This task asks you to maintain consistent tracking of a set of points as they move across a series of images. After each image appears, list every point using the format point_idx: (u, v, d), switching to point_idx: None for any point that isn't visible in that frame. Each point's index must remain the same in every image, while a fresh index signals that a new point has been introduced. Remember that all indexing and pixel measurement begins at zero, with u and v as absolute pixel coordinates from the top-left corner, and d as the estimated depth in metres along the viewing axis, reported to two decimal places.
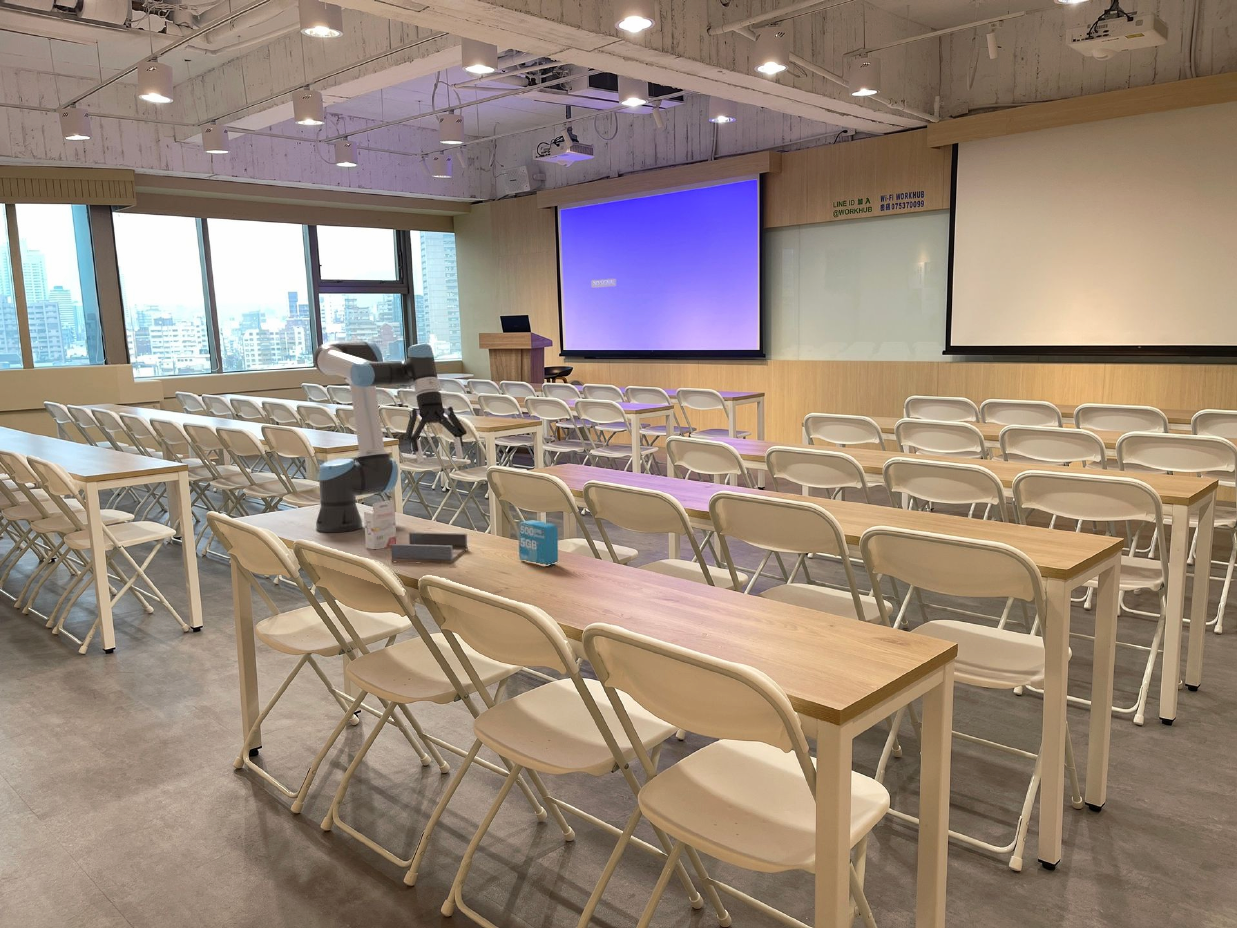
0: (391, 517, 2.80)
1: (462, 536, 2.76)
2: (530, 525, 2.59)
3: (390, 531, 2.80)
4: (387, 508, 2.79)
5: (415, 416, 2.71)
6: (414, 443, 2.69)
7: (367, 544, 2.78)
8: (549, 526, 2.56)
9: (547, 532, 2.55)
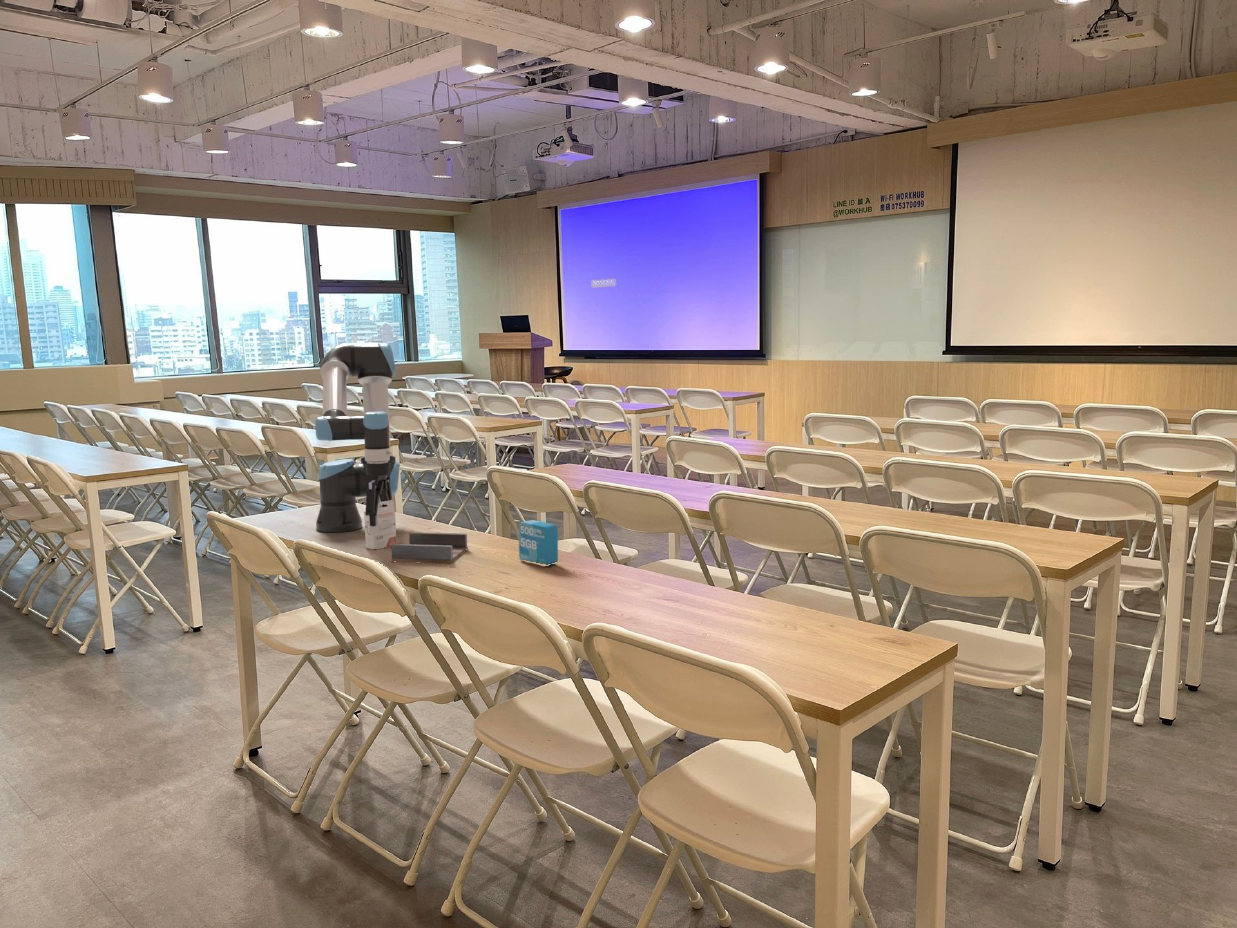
0: (391, 517, 2.80)
1: (462, 536, 2.76)
2: (530, 525, 2.59)
3: (390, 531, 2.80)
4: (387, 508, 2.79)
5: (375, 490, 2.72)
6: (374, 518, 2.73)
7: (367, 544, 2.78)
8: (549, 526, 2.56)
9: (547, 532, 2.55)
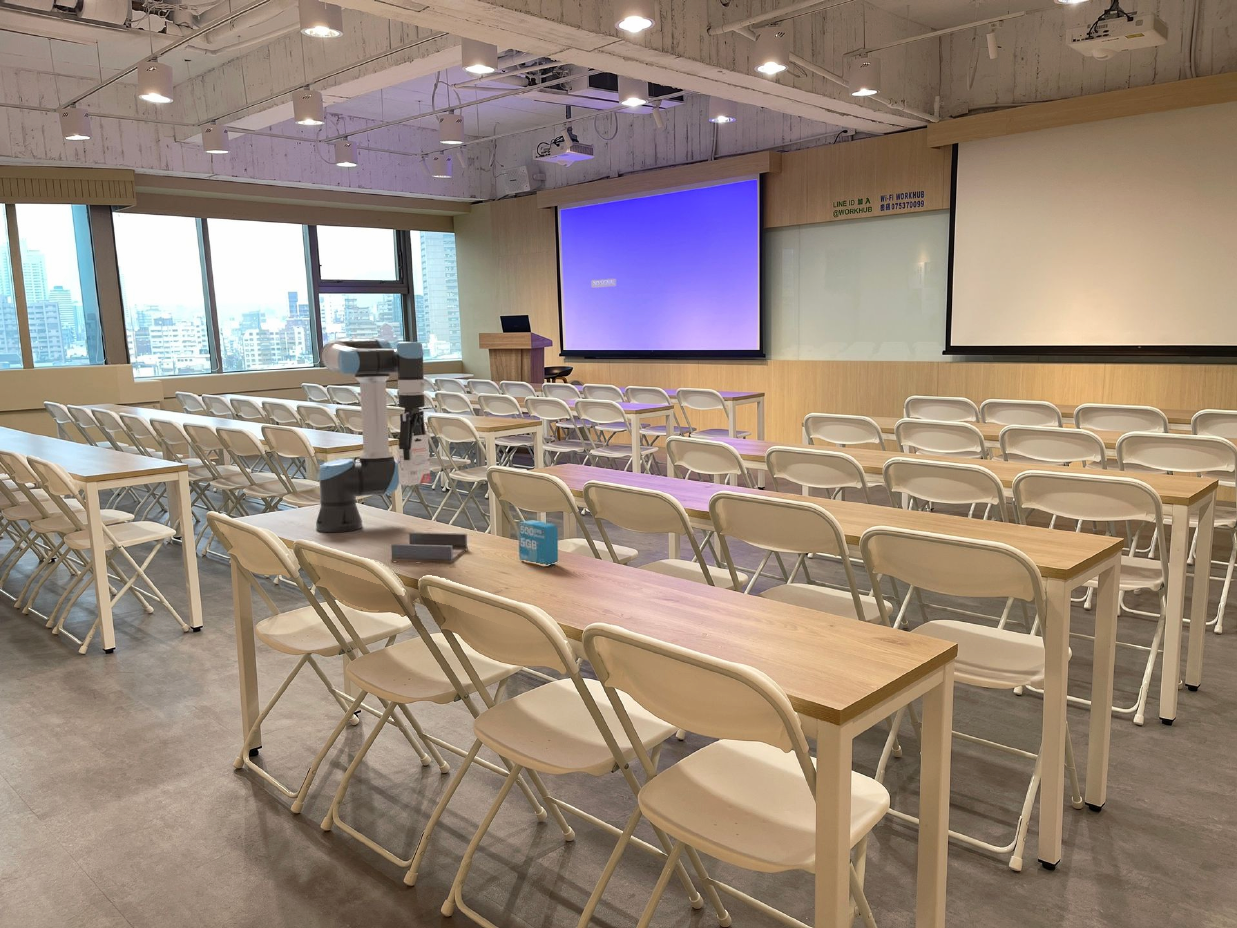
0: (425, 453, 2.69)
1: (462, 536, 2.76)
2: (530, 525, 2.59)
3: (424, 467, 2.69)
4: (421, 443, 2.67)
5: (409, 422, 2.61)
6: (408, 451, 2.62)
7: (400, 480, 2.67)
8: (549, 526, 2.56)
9: (547, 532, 2.55)
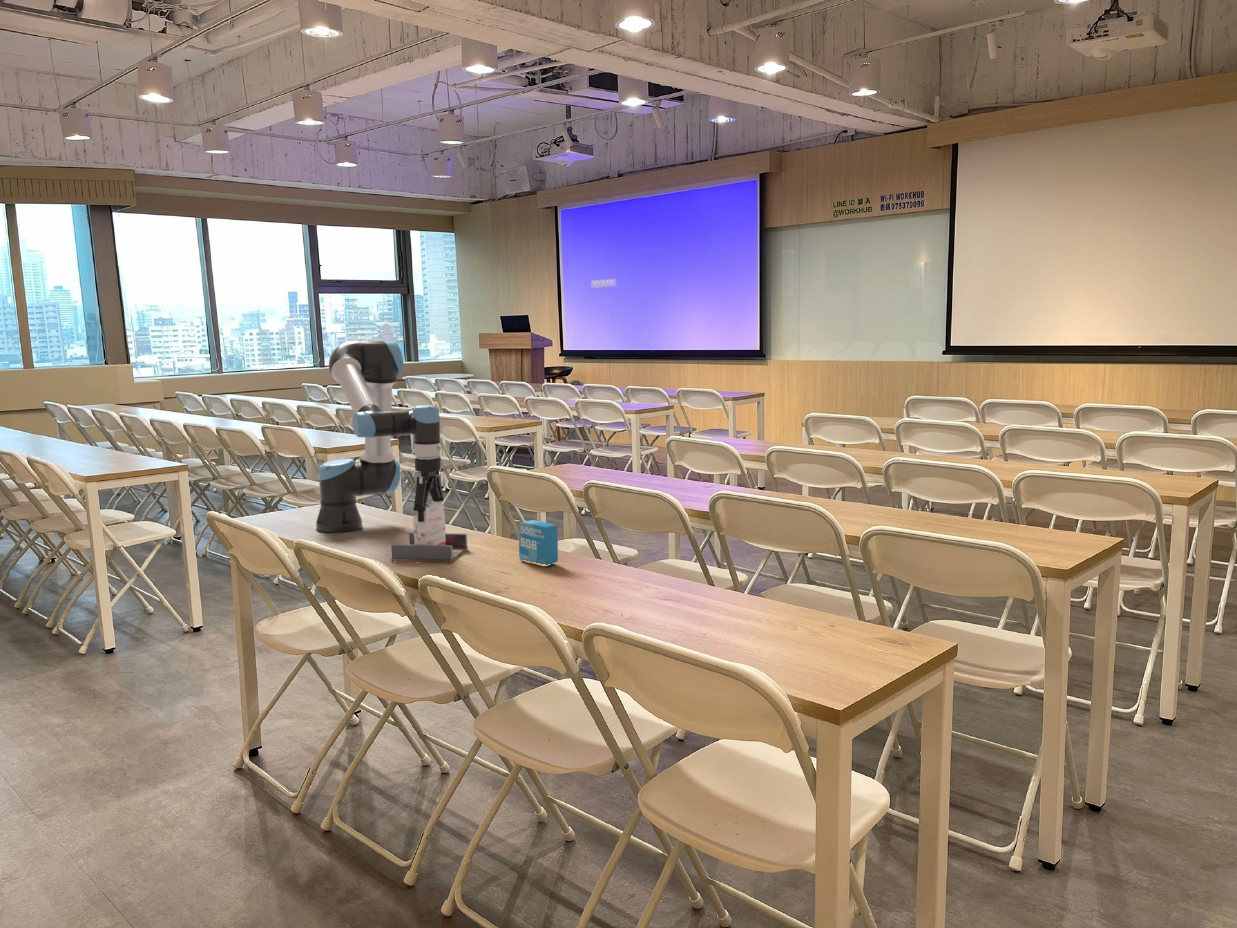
0: (441, 522, 2.69)
1: (462, 536, 2.76)
2: (530, 525, 2.59)
3: (439, 536, 2.69)
4: (437, 512, 2.68)
5: (425, 485, 2.60)
6: (422, 513, 2.60)
7: None
8: (549, 526, 2.56)
9: (547, 532, 2.55)
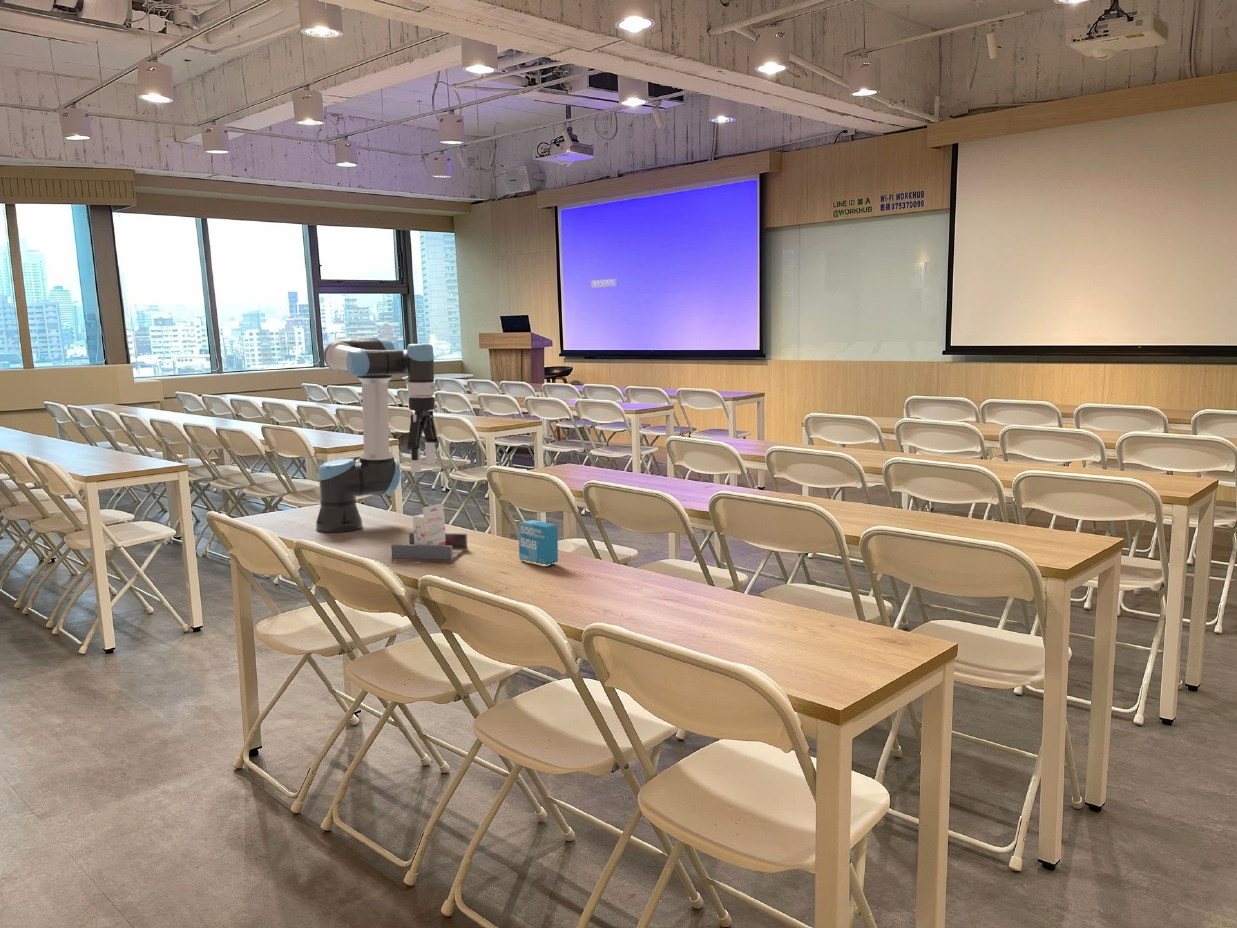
0: (441, 522, 2.69)
1: (462, 536, 2.76)
2: (530, 525, 2.59)
3: (439, 536, 2.69)
4: (437, 512, 2.68)
5: (419, 423, 2.59)
6: (416, 451, 2.59)
7: None
8: (549, 526, 2.56)
9: (547, 532, 2.55)
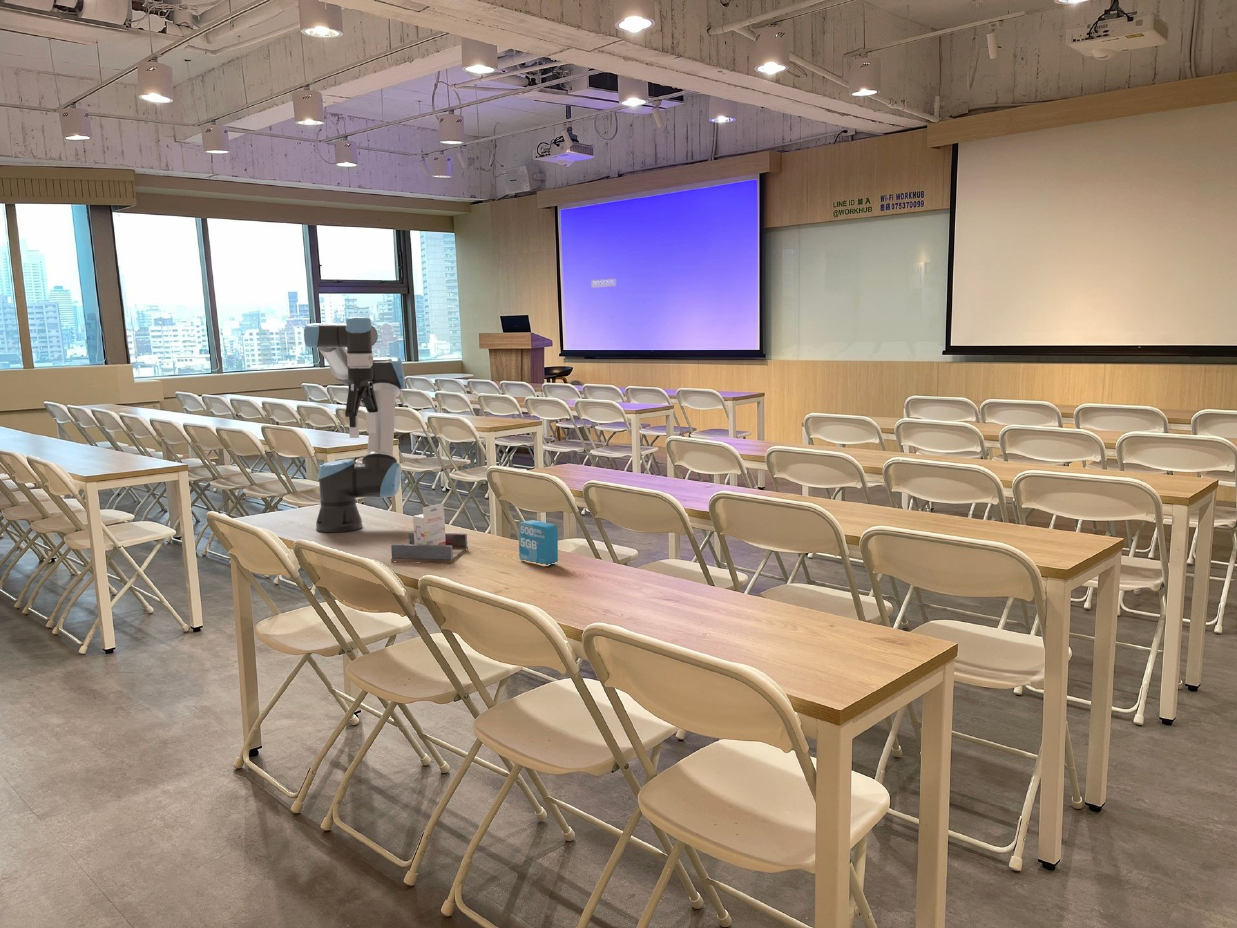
0: (441, 522, 2.69)
1: (462, 536, 2.76)
2: (530, 525, 2.59)
3: (439, 536, 2.69)
4: (437, 512, 2.68)
5: (356, 392, 2.72)
6: (354, 419, 2.72)
7: None
8: (549, 526, 2.56)
9: (547, 532, 2.55)
